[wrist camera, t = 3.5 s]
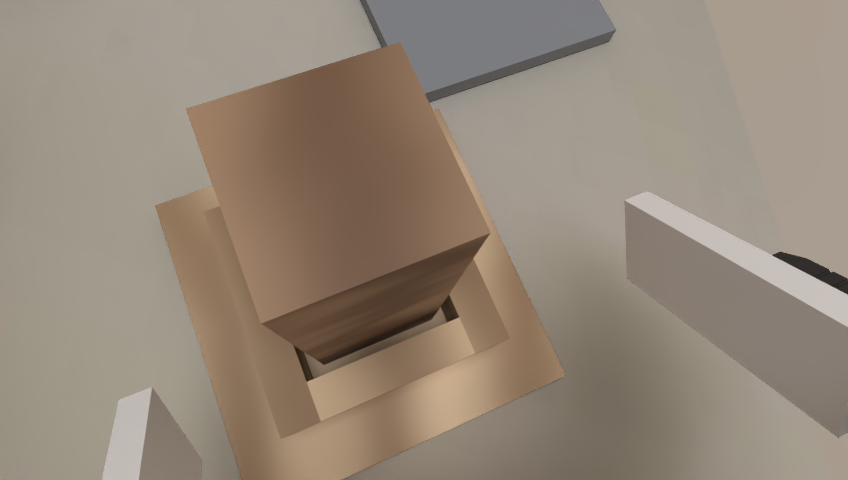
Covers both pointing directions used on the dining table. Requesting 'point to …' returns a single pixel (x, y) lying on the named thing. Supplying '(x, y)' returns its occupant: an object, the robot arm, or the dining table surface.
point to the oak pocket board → (352, 357)
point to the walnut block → (341, 201)
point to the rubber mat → (485, 36)
